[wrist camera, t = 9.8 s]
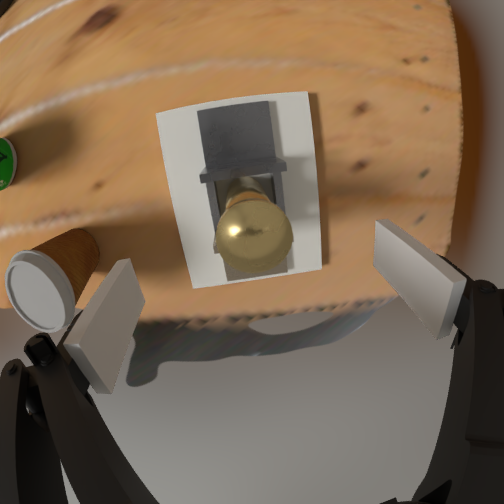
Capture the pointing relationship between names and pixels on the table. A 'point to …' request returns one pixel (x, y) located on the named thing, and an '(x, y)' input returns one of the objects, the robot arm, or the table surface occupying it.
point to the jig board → (195, 194)
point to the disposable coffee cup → (51, 279)
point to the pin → (252, 229)
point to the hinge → (239, 159)
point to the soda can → (7, 163)
